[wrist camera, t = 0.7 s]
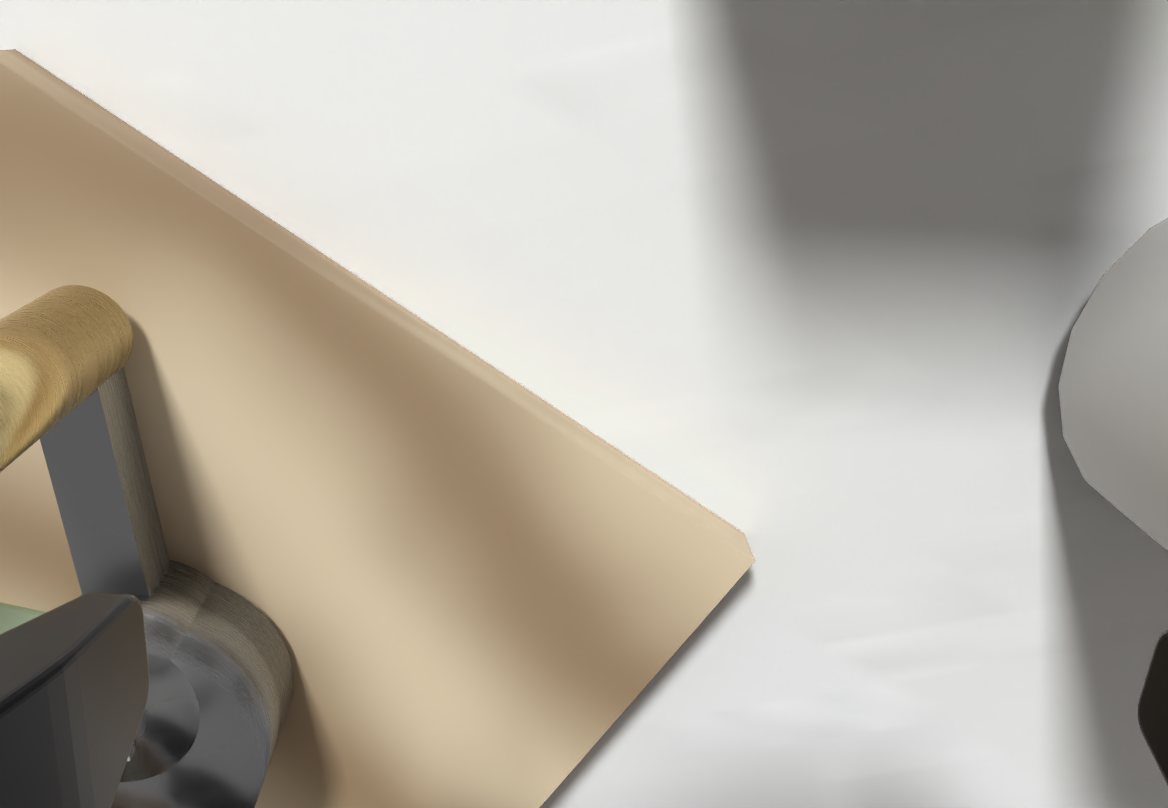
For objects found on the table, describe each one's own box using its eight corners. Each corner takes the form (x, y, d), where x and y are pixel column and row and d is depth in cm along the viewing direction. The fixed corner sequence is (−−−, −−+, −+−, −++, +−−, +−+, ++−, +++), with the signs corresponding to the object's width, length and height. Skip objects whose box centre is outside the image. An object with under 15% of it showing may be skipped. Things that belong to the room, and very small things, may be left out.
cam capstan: (311, 763, 22) (219, 1073, 16) (78, 783, 22) (-111, 1103, 16) (214, 271, 18) (41, 411, 12) (-67, 293, 18) (-399, 445, 12)
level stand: (314, 1032, 27) (257, 1297, 22) (-347, 736, 23) (-631, 968, 17) (743, 533, 23) (815, 704, 17) (15, 49, 18) (-212, 62, 13)
